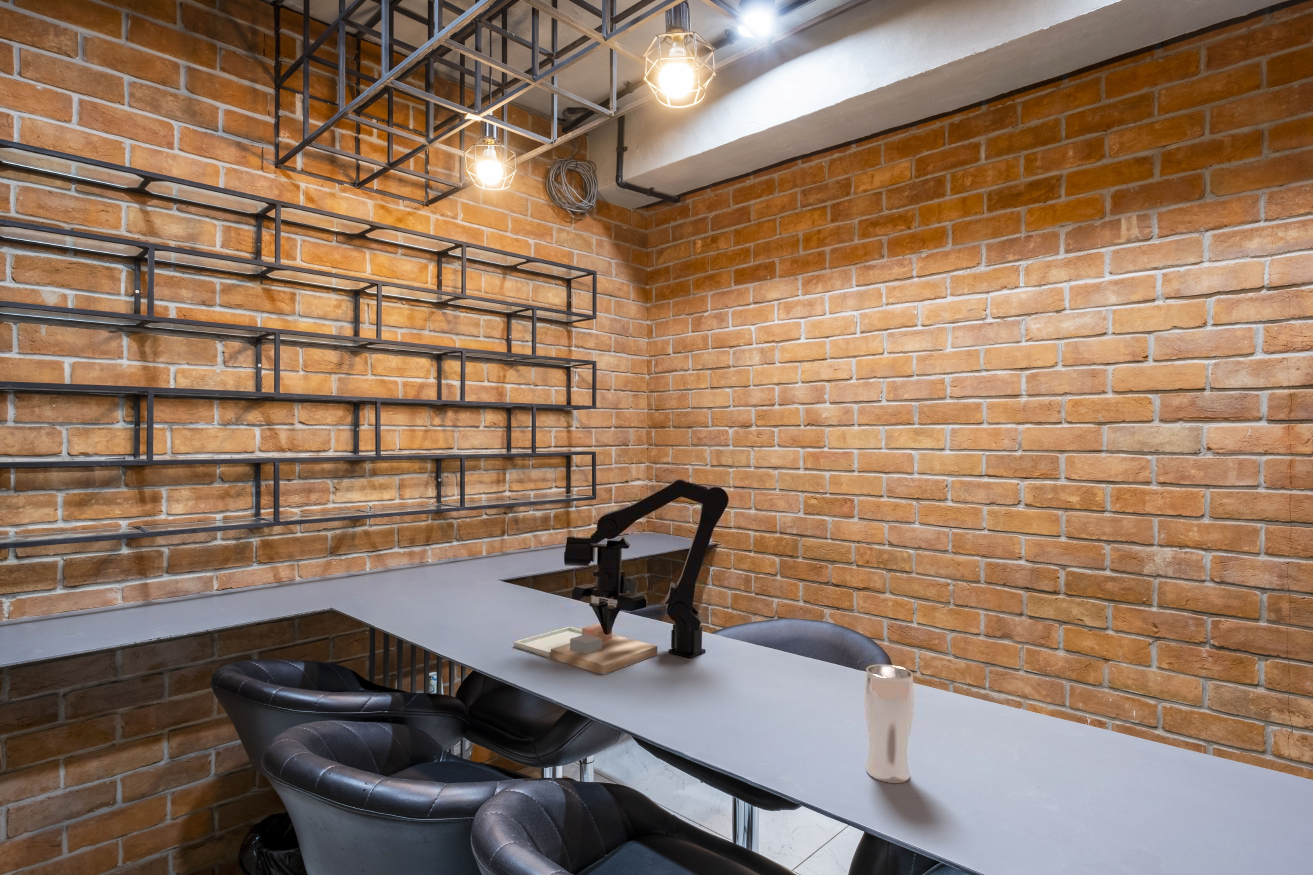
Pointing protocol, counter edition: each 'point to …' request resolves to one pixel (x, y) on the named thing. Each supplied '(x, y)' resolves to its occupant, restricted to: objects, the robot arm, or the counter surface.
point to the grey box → (586, 644)
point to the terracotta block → (596, 632)
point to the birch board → (607, 655)
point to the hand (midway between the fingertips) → (607, 634)
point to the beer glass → (888, 721)
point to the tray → (548, 641)
